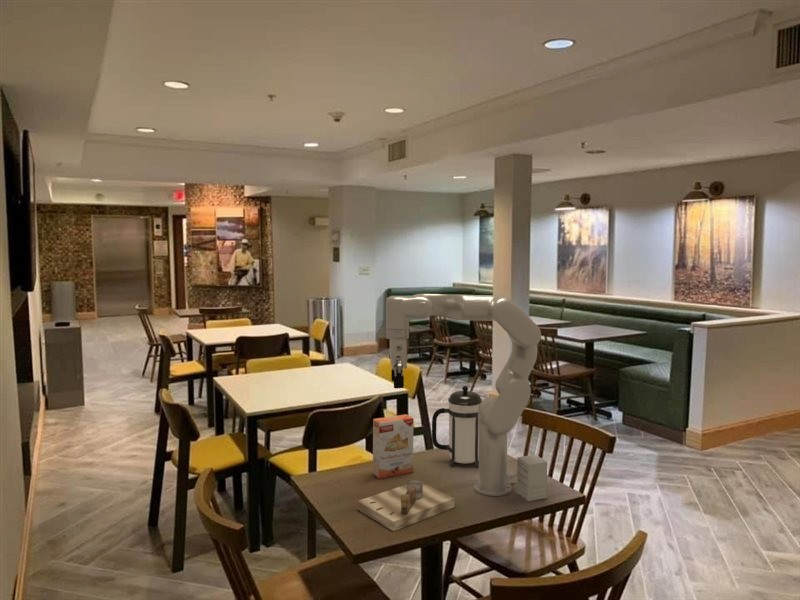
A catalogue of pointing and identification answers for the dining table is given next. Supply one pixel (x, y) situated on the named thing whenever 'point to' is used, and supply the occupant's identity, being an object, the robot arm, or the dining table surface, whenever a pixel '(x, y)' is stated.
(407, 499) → the lever
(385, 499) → the dial board
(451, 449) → the coffee press
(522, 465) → the supplement box
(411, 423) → the cracker box
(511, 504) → the dining table surface
